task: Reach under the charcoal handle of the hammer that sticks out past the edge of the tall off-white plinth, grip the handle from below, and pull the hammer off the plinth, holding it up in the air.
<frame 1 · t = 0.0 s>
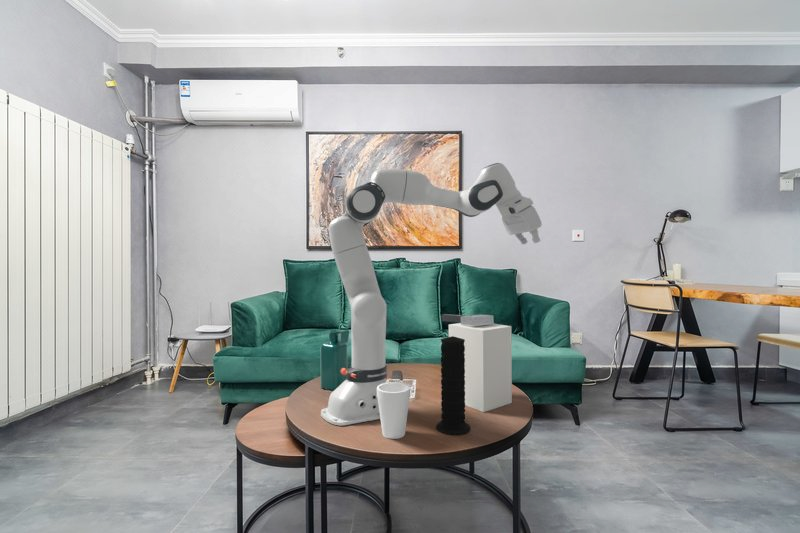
hand: (531, 242, 135), 54 cm above the table, tool tilted 30°, fingers open, 8 cm apart
foam cup: (393, 434, 110), on the table
hammer: (477, 324, 137), point 26 cm above the table, touching plinth
plinth: (479, 400, 136), on the table
green bottle: (335, 387, 152), on the table
handle grip: (453, 428, 114), on the table
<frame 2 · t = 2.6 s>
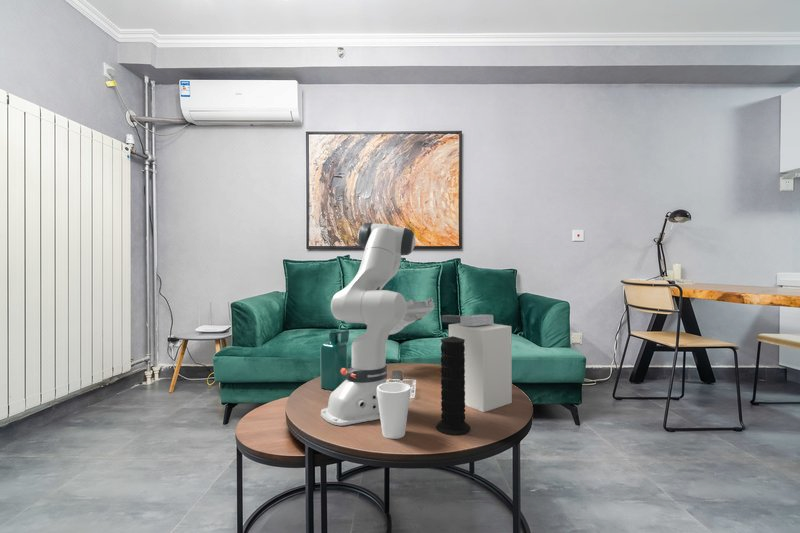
hand: (422, 300, 161), 32 cm above the table, tool pointing upward, fingers open, 8 cm apart
nothing on the table moved.
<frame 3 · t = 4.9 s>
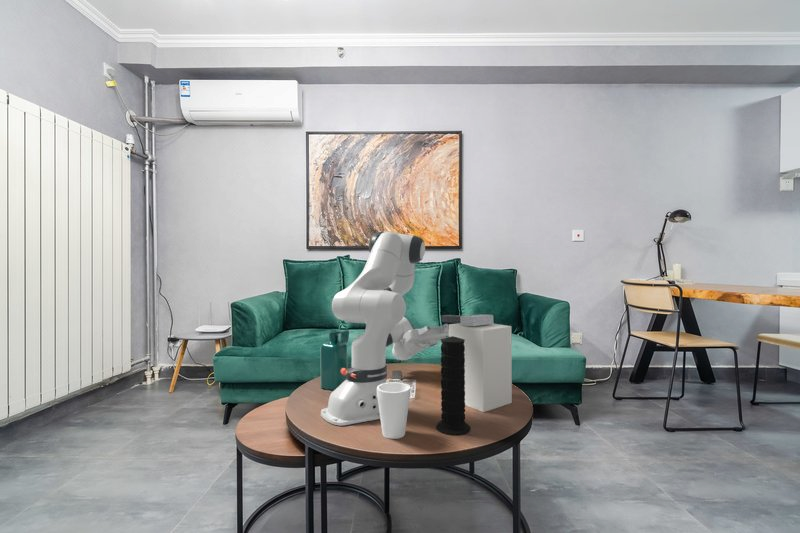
hand: (437, 326, 153), 23 cm above the table, tool pointing upward, fingers open, 8 cm apart
nothing on the table moved.
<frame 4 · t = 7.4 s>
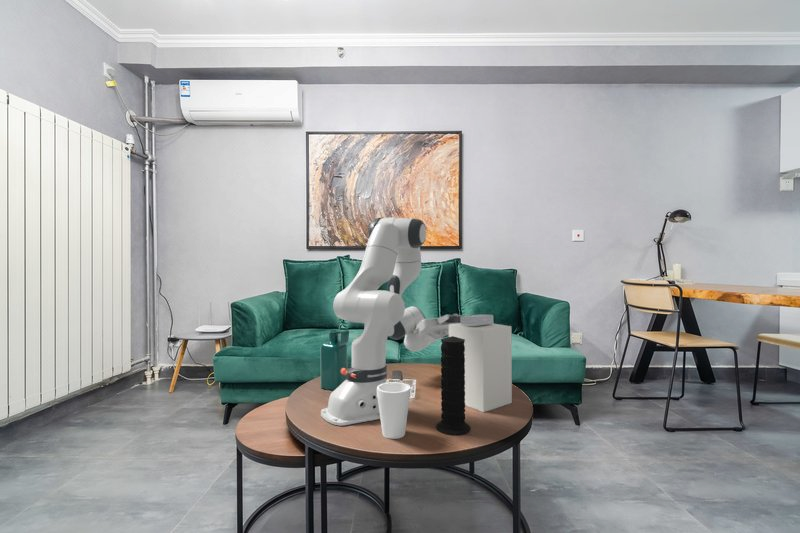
hand: (452, 315, 146), 28 cm above the table, tool pointing upward, fingers closed on hammer, 2 cm apart
hammer: (477, 324, 137), point 26 cm above the table, touching gripper, plinth
everything else where it was.
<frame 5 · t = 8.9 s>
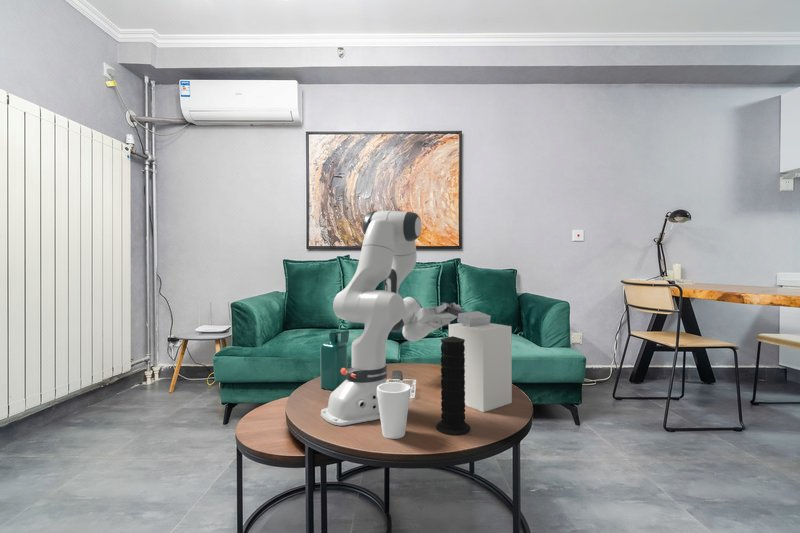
hand: (450, 304, 147), 32 cm above the table, tool pointing upward, fingers closed on hammer, 2 cm apart
hammer: (473, 322, 138), point 27 cm above the table, tilted 11°, touching gripper
everything else where it was.
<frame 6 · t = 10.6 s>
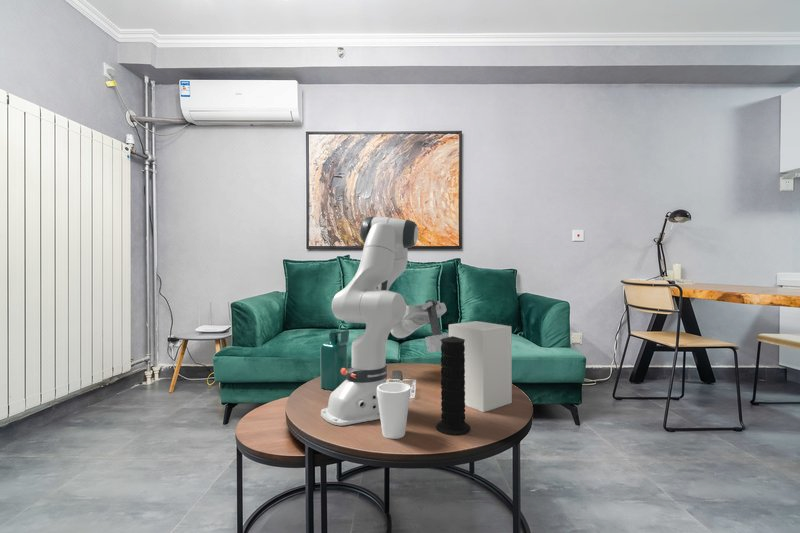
hand: (434, 302, 155), 32 cm above the table, tool pointing upward, fingers closed on hammer, 2 cm apart
hammer: (436, 343, 154), point 16 cm above the table, tilted 72°, touching gripper
everything else where it was.
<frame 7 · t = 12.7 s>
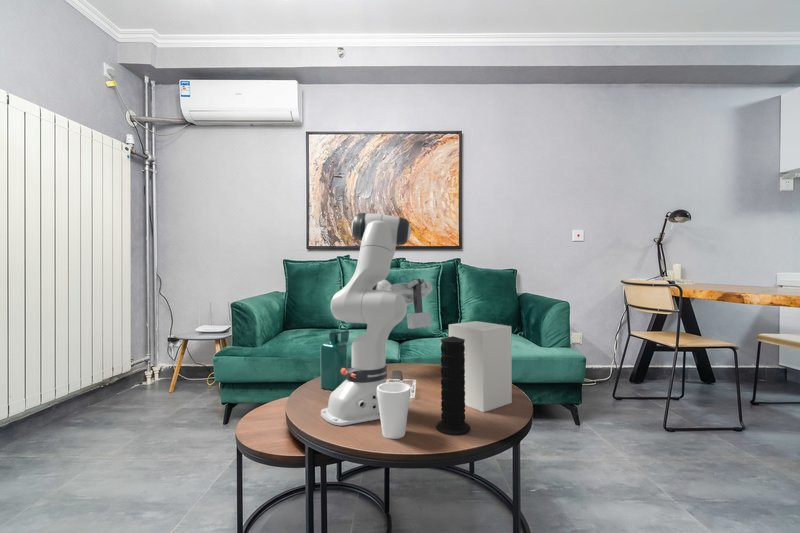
hand: (420, 280, 162), 40 cm above the table, tool pointing upward, fingers closed on hammer, 2 cm apart
hammer: (416, 320, 164), point 24 cm above the table, tilted 84°, touching gripper
everything else where it was.
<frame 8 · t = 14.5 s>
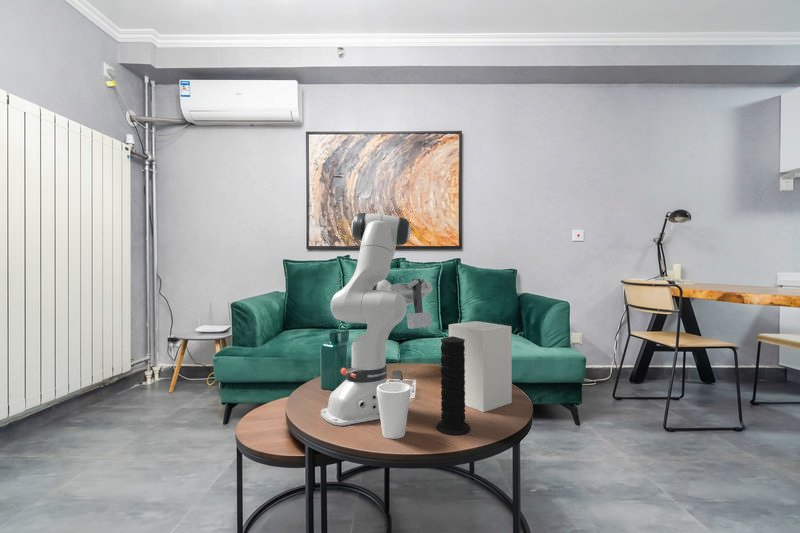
hand: (420, 280, 162), 40 cm above the table, tool pointing upward, fingers closed on hammer, 2 cm apart
hammer: (416, 320, 164), point 24 cm above the table, tilted 84°, touching gripper
everything else where it was.
at the end: the gripper is holding hammer; hammer touching gripper; hammer moved 33.8 cm from its start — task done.
